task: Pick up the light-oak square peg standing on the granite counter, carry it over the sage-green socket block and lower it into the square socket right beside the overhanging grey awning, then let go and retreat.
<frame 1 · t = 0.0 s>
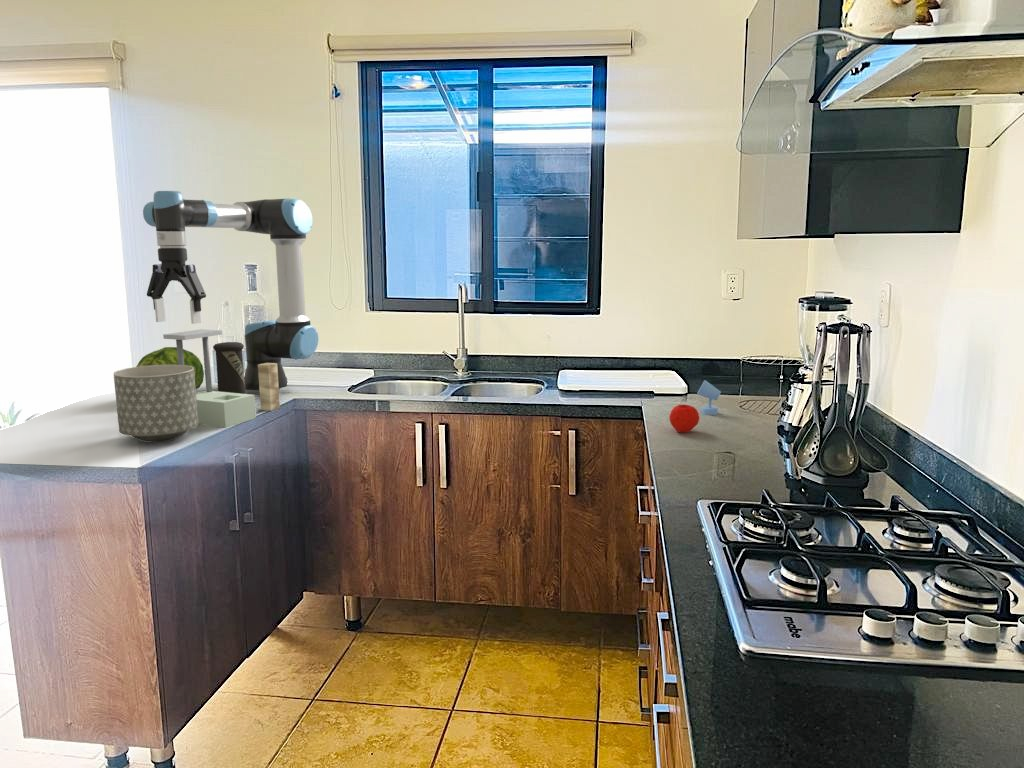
hand: (178, 322, 224), 28 cm above the worktop, fingers open, 13 cm apart
peg: (270, 408, 240), on the worktop
lettuce: (169, 401, 253), on the worktop
socket station: (217, 420, 226), on the worktop
container: (232, 405, 246), on the worktop
planter: (160, 439, 205), on the worktop
apple: (683, 432, 209), on the worktop
spotlight: (708, 413, 231), on the worktop
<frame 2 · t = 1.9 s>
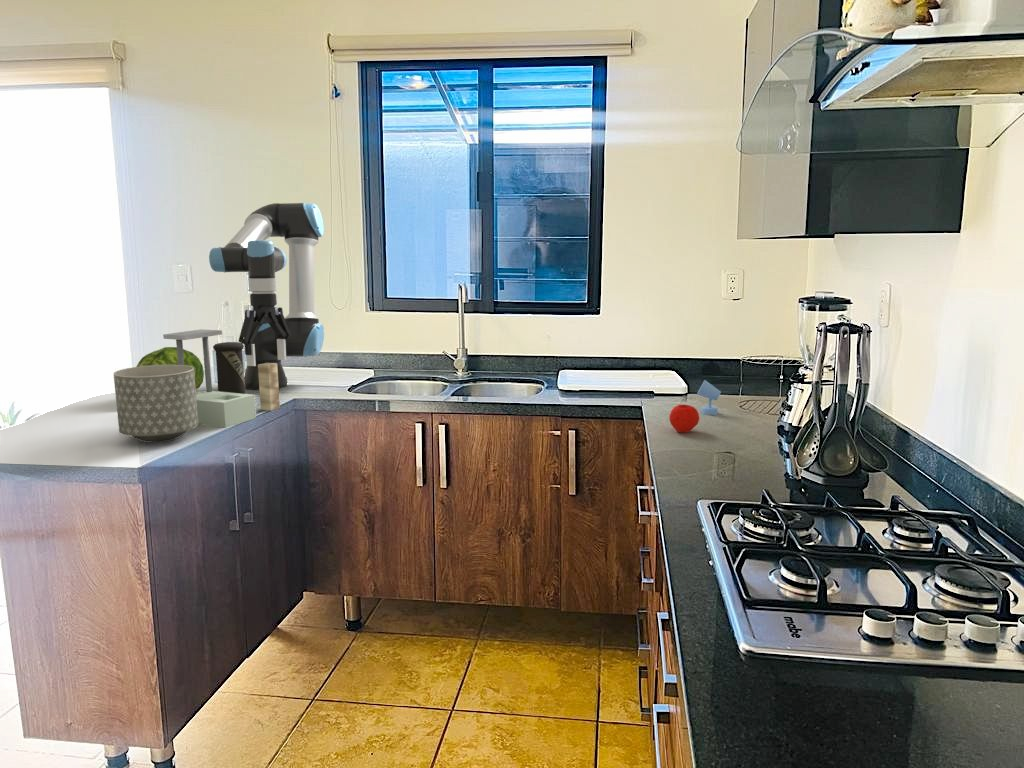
hand: (267, 362, 237), 14 cm above the worktop, fingers open, 13 cm apart
nothing on the worktop moved.
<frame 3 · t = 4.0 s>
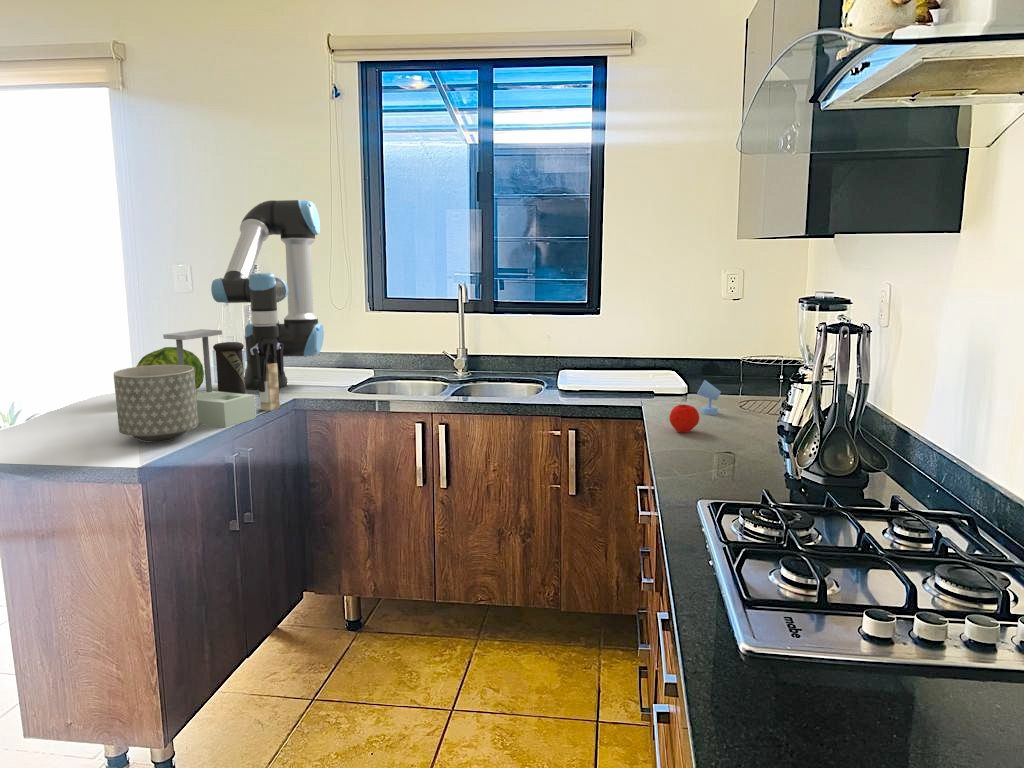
hand: (269, 400, 240), 3 cm above the worktop, fingers closed on peg, 4 cm apart
peg: (270, 408, 240), on the worktop, touching gripper
everything else where it was.
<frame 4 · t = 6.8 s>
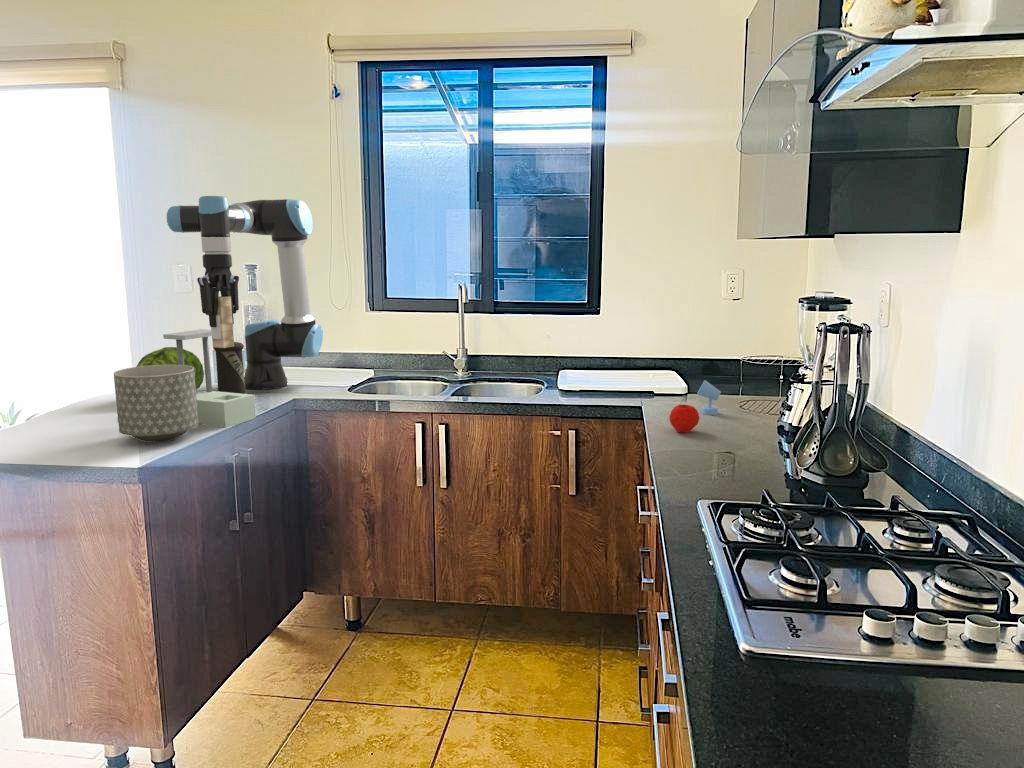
hand: (222, 337, 219), 24 cm above the worktop, fingers closed on peg, 4 cm apart
peg: (223, 346, 220), point 22 cm above the worktop, touching gripper
everything else where it was.
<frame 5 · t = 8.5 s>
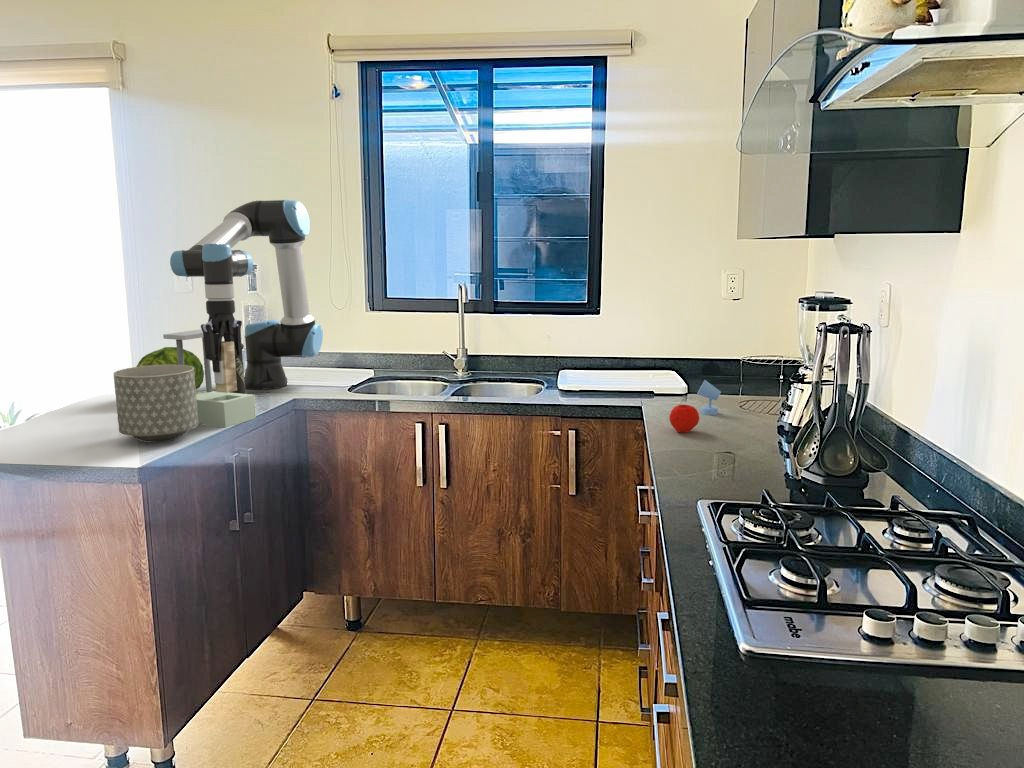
hand: (225, 381, 222), 12 cm above the worktop, fingers closed on peg, 4 cm apart
peg: (226, 391, 222), point 9 cm above the worktop, touching gripper
everything else where it was.
when the fingers open (8 cm above the worktop, at t = 9.7 s): peg drops 4 cm, resting on socket station.
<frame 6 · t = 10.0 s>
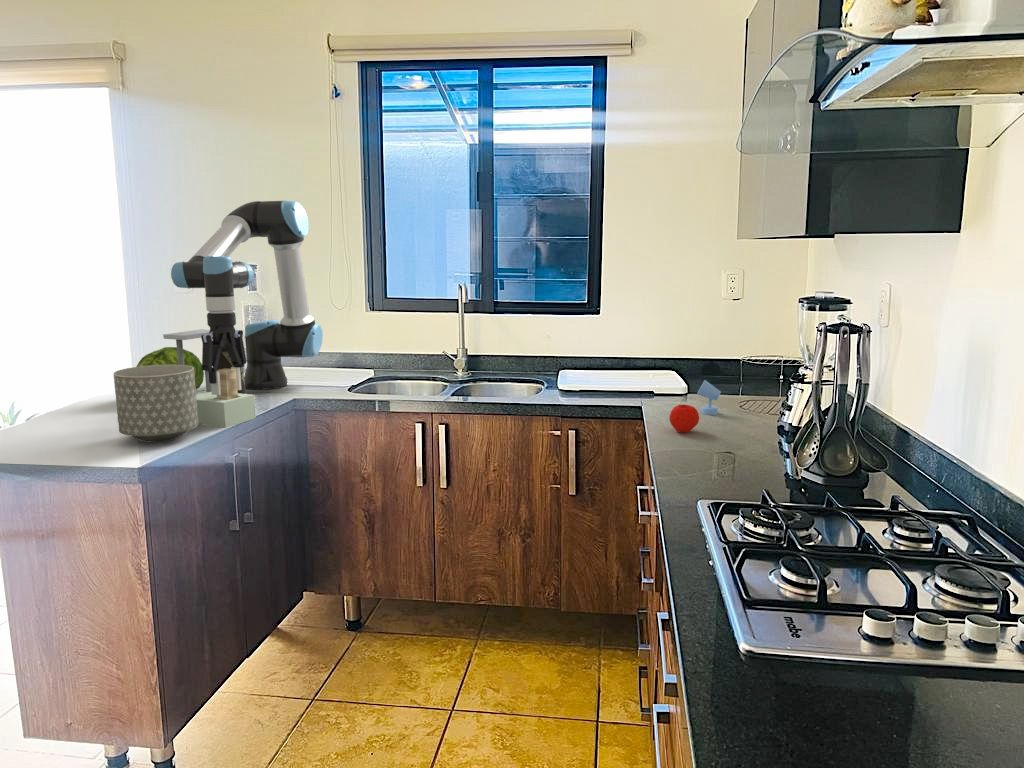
hand: (226, 391, 222), 9 cm above the worktop, fingers open, 7 cm apart
peg: (228, 417, 224), point 1 cm above the worktop, touching socket station
everything else where it was.
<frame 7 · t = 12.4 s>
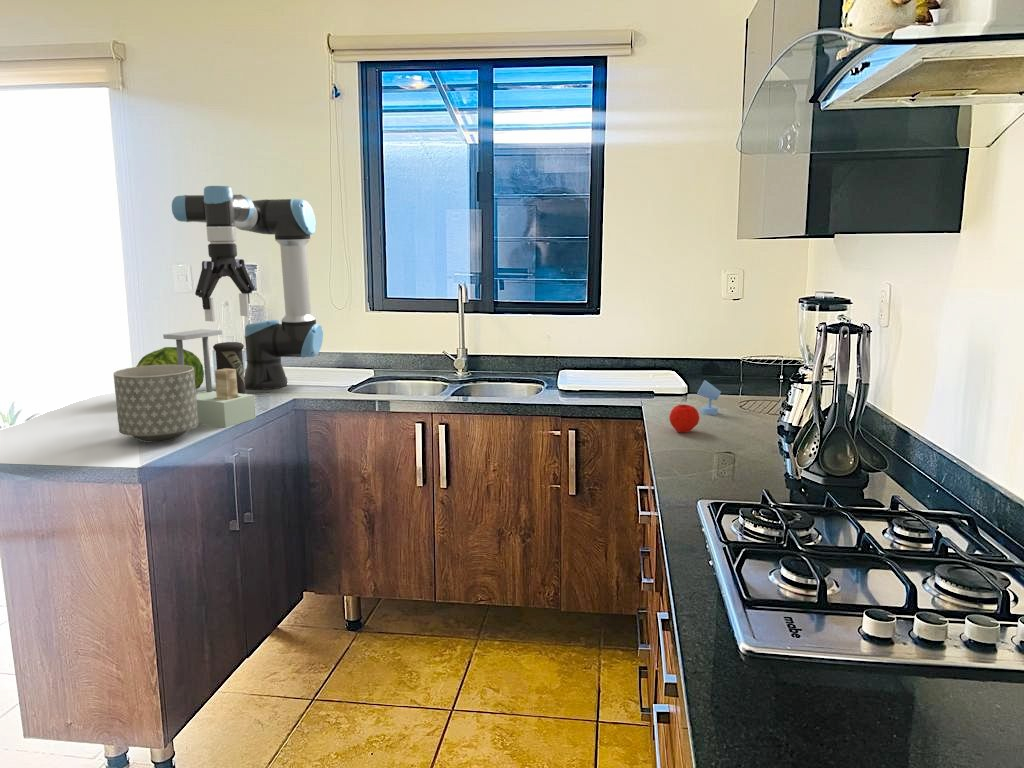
hand: (228, 318, 222), 29 cm above the worktop, fingers open, 13 cm apart
nothing on the worktop moved.
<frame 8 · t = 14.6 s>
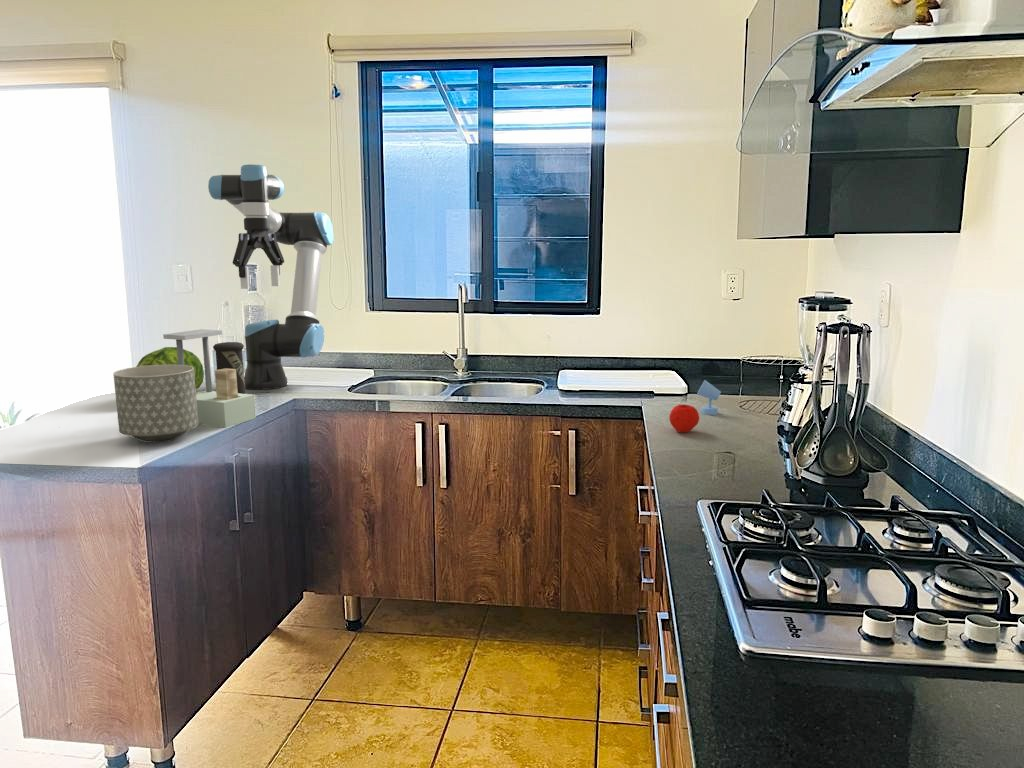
hand: (260, 287, 241), 37 cm above the worktop, fingers open, 13 cm apart
nothing on the worktop moved.
at the end: peg 0.0 cm from the target spot on the socket station, point 1.0 cm above the socket station's base; peg tilted 0°; the gripper is holding nothing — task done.
